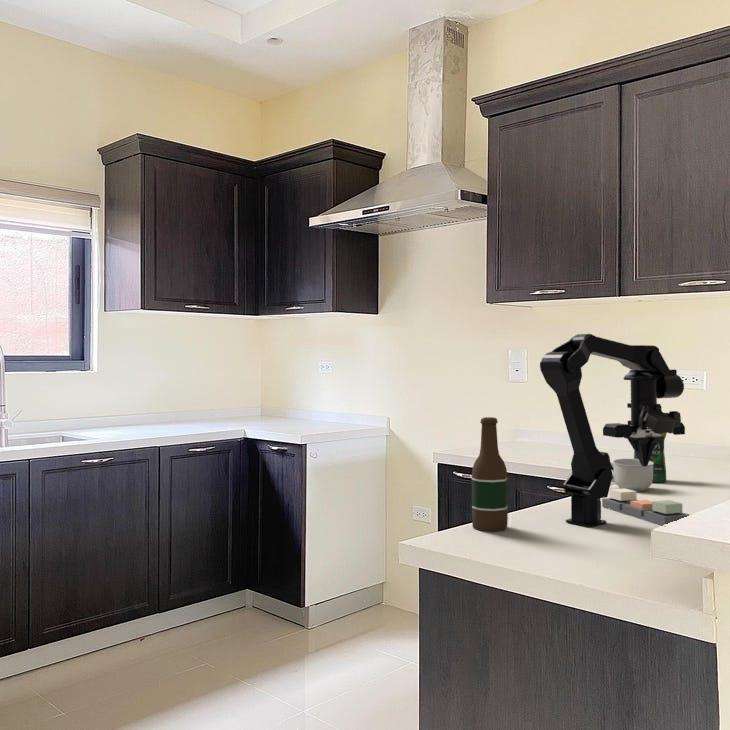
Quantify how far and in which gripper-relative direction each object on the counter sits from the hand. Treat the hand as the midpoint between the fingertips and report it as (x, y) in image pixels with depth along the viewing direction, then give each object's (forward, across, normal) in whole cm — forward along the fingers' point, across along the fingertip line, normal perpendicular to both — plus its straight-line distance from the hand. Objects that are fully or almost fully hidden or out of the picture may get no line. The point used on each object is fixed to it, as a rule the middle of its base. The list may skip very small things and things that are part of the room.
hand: (644, 466), depth 173 cm
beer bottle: (+11, -40, -1) cm, 42 cm away
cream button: (+9, 0, +8) cm, 12 cm away
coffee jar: (+12, +32, +40) cm, 53 cm away
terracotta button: (+10, 0, 0) cm, 10 cm away
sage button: (+9, 0, -8) cm, 12 cm away
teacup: (+12, +18, +31) cm, 37 cm away
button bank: (+11, 0, 0) cm, 11 cm away
